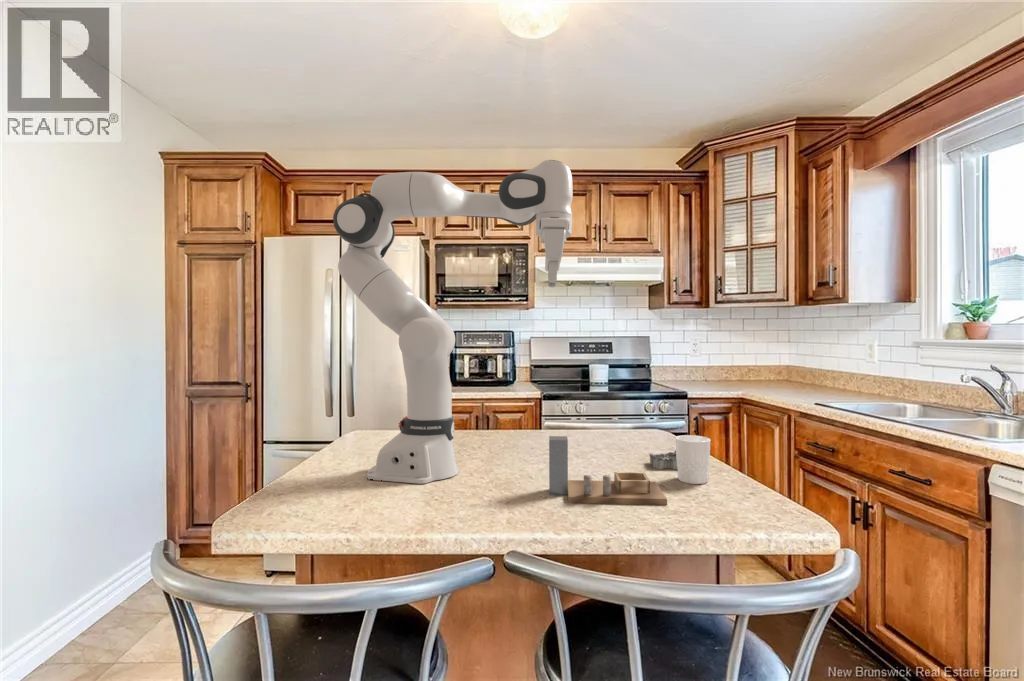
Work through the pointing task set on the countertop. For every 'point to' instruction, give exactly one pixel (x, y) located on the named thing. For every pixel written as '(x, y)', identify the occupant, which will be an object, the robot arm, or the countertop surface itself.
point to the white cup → (692, 458)
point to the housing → (616, 490)
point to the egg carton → (664, 460)
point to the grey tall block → (558, 465)
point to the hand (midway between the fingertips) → (552, 284)
